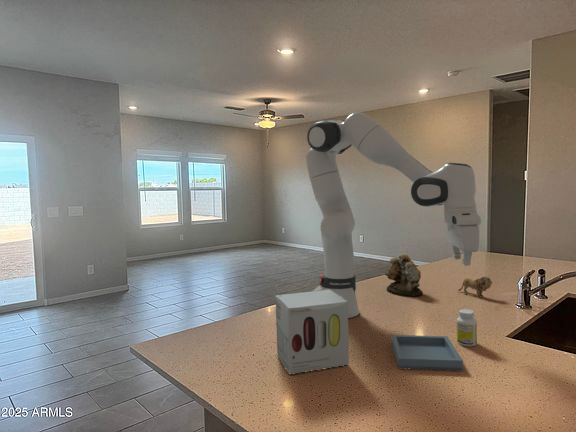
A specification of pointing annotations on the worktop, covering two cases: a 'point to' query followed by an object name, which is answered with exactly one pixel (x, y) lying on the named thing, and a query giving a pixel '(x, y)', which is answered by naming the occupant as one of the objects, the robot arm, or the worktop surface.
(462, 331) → the supplement bottle
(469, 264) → the robot arm
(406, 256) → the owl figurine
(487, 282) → the lion figurine
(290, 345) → the supplement box
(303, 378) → the worktop surface
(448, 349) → the tray
